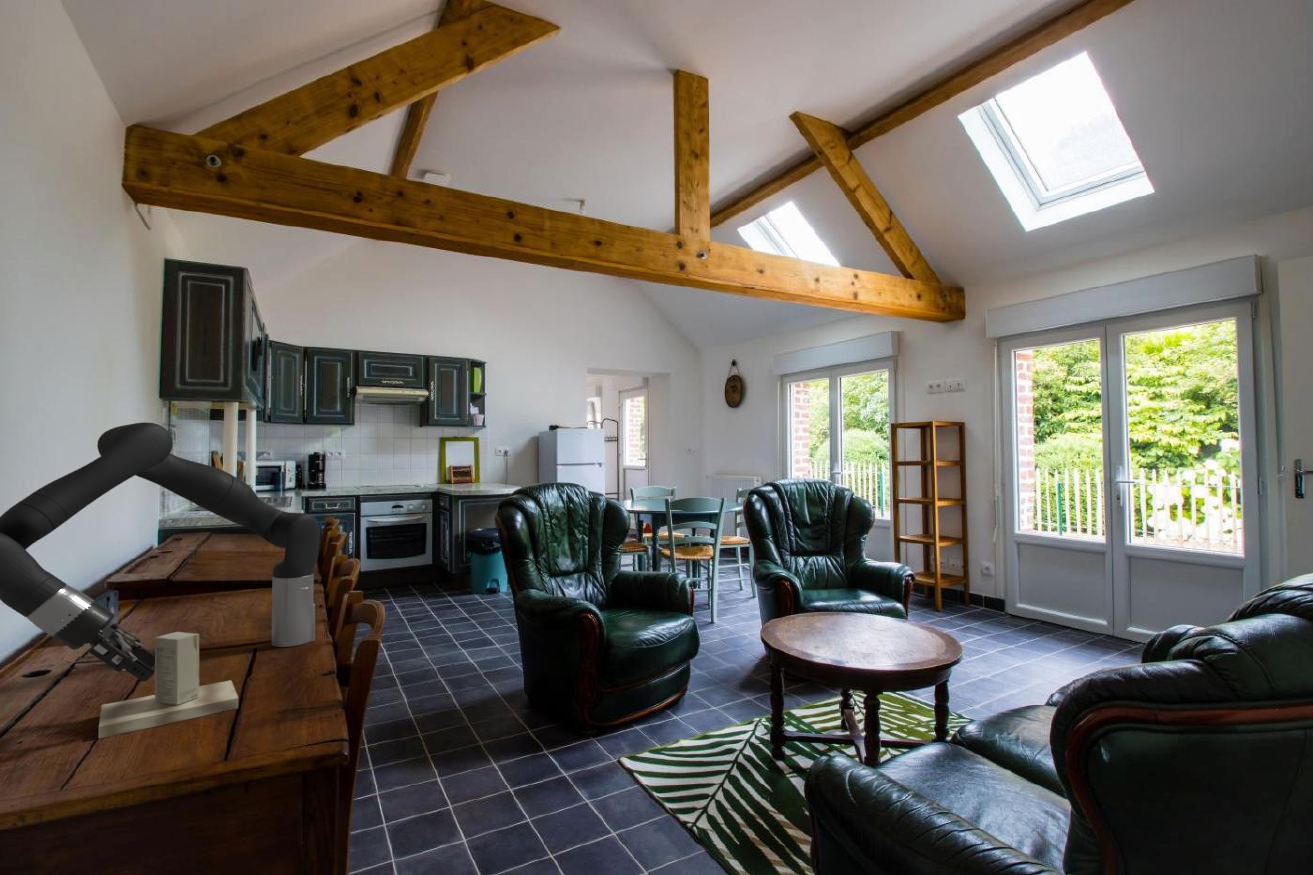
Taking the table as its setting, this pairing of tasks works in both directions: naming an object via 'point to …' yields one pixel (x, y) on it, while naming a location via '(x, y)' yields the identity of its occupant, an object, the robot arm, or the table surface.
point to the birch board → (165, 710)
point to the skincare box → (176, 667)
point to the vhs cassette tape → (110, 604)
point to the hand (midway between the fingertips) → (152, 670)
